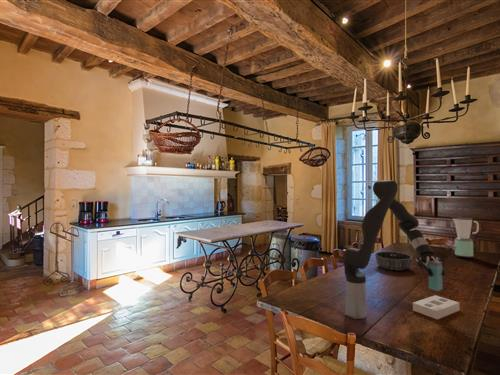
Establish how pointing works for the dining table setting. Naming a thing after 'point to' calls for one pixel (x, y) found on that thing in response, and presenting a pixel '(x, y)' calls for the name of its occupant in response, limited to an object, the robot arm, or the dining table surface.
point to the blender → (464, 237)
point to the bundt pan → (393, 260)
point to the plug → (435, 275)
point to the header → (436, 307)
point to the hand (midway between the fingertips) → (437, 275)
